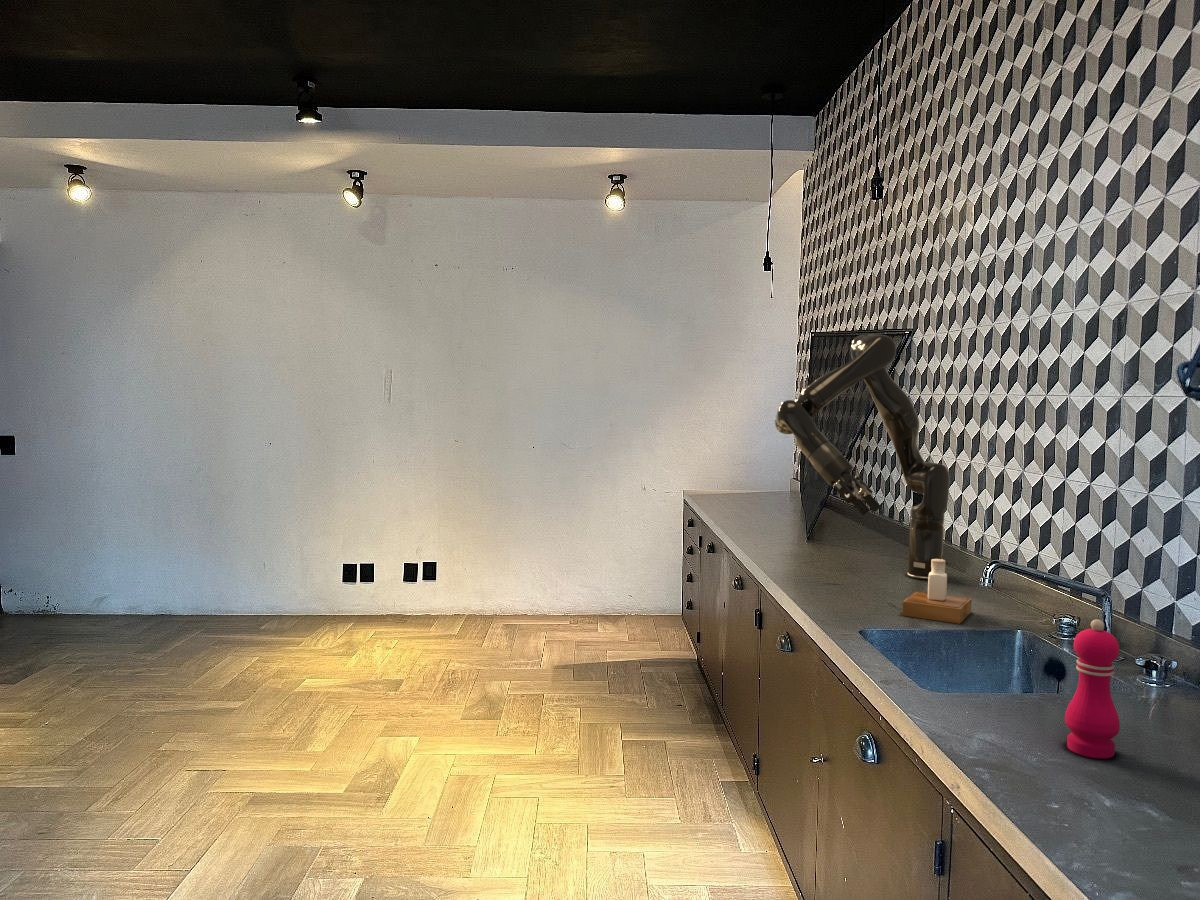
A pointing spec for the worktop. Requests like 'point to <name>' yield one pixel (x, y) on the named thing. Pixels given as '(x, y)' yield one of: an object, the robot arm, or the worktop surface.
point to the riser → (937, 608)
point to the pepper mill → (1093, 695)
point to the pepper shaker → (937, 580)
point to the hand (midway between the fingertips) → (872, 511)
